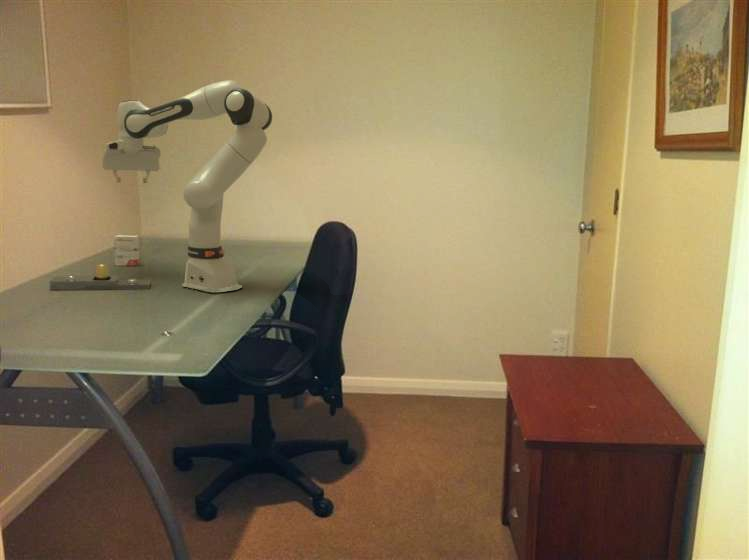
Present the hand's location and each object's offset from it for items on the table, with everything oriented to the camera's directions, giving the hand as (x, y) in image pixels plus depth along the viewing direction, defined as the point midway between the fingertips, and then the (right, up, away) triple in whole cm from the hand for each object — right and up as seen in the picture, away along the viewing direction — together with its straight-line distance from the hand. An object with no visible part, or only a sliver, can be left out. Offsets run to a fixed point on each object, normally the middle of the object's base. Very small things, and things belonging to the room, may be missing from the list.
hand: (132, 182), depth 262 cm
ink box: (-8, -31, +18) cm, 37 cm away
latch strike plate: (-4, -39, -19) cm, 44 cm away
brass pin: (-4, -39, -19) cm, 44 cm away
